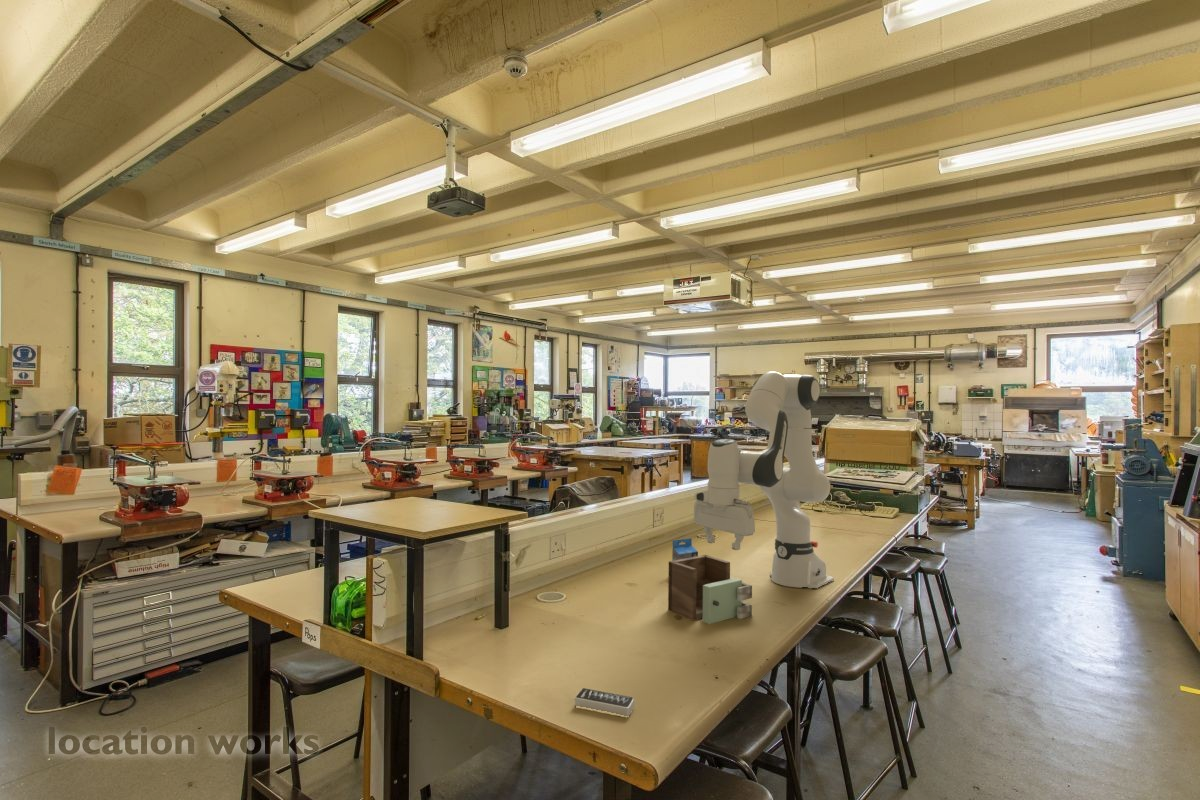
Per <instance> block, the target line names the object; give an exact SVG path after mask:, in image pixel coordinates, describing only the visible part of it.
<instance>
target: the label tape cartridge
mask: <svg viewBox="0 0 1200 800" xmlns="http://www.w3.org/2000/svg"><path fill="white" fill-rule="evenodd" d="M682 543H684V544H682ZM692 544H693V543H692V538H690V537H689V538H683V539H674V540H673V539H672V553H671V554H672V555H671V557H672V559H671V561H675V560H680V559H686V558H691V557H697V556H699V551H698V550H697V549H696V548H695V546H693V545H692Z"/></svg>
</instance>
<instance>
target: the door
mask: <svg viewBox="0 0 1200 800" xmlns="http://www.w3.org/2000/svg"><path fill="white" fill-rule="evenodd" d="M742 583H743V580H742V579H740V578H737V577H733V578H730V579H728V580H724V581H719V582H715V583H710V584H706V585H703V618H702V622H703V623H705V624H707V625H710V624H715V623H718V622H722V621H725V620H726V621H727V620H728V619H732V618H733V619H734V618H737V607H740V606H742V602H743V601H738V600H737V588H738V587H742Z"/></svg>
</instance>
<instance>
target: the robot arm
mask: <svg viewBox="0 0 1200 800" xmlns="http://www.w3.org/2000/svg"><path fill="white" fill-rule="evenodd" d="M820 393H821V390H820V383H819V381H818V379H817V378H816V377H815V376H814V375H810V374H802V375H801V374H788V373H787V374H782V373H780V372H777V371H774V370H773V371H767V372H765V373H763V374H762V375H761V376H760V377H758V378H757V379H756V380H755V381H754V383H753V386H752V389H751V391H750V393H749V395H748V397H747V399H746V402H745V406H744V410H745V411H744V412H745V415H746V417H747V418H748V420H749V421H750V422H751V423H752V424H753V425H754V426H755V427H758V428H760V429H762V430H765V431H768V432H769V437H768V440H767V441H768V442H767V447H766V448H765V449H763V450H746V449H745V450H744V449H742V448H740V447H739V446H738V442H737V440H735V439H732V438H722V439H716V440H714V441H712V442H710V444H709V449H708V453H707V455H708V456H707V473H708V481H707V489H706V490H702V491H698V492H695V493H694V495H693V496H694V497H693V498H694V500H695V502H694V505H693V521H694V523H695V525H697V526H700V527H701V526H702V527H703V531H704V533H705V536H706V542H707V543H708V544H715V543H716V536H714V535H713V532H712V531H713V529H714V530H718V531H721V532H727V533H730V534H734V538H735V541H734V542H732V543H731V549H732V550H735V551H740V550H741V543H742V542H743V539H744V538H745V537H749V536H753V535H754V534H755V532H756V525H755V522H756V521H755V515H754V508H753V506H752V504H751V503H750V502H749V501H747V500H742V499H740V484H745V485H746V484H747V485H754V486H755V485H756V486H759V487H760V489H761V492H763V493H764V494H765V495H766V496H767V498H768V500H769V501H770V503H771V506H772V508H773V511H774V514H775V515H774V516H775V525H776V529H775V531H776V535H775V536H776V538H775V539H774V550H775V552H774V553H773V558H772V567H771V568H772V569H771V572H770V573H769V577H771V578H770V580H771V581H772V582H773V583H775V584H777V585H781V586H785V587H789V588H799V589H800V588H802V587H808V588H807V589H812V588H817V589H819V588H818V587H820V586H822V585H824V584H826V583H828V582H830V581H832V580H835V578H834V577H833V576H831V575H829V574H827V565H826V563H825V561H824V560H823V559H822V558H820V557H819V556H818V555H817V554H816V553H815V552H814V551H815V550H814V548H818V547H819V542H818V541H813V540H811V519H810V517H809V516H808V514H807V513H806V512H804V511H803V510H802V508H801V507H800V506H799V502H802V503H803V502H804V503H809V504H810V503H821V502H824V501H825V500H826V499H827V498H828V496H829V495H830V492H831V482H830V479H829V477H828V476H827V475H826V474H825V473H824V472H823V471H822V470H821V468H820V467H819V466H818V464H817V462H816V460H815V458H814V457H815V456H814V452H813V445H812V443H813V442H812V441H813V440H812V439H813V438H812V432H813V431H812V423H813V422H812V413H811V409H812V407H813V406H814V405H816V403H817V402H818V401H819V399H820V398H819V397H820ZM784 458H786V460H787V462H788V465H789V467H785V466H784ZM832 582H833V581H832ZM830 583H831V582H830ZM828 584H829V583H828ZM826 585H827V584H826ZM824 586H825V585H824ZM822 587H823V586H822ZM820 588H821V587H820Z"/></svg>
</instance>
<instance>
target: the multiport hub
mask: <svg viewBox="0 0 1200 800" xmlns="http://www.w3.org/2000/svg"><path fill="white" fill-rule="evenodd" d="M575 705H576V706H580V707H586V708H591V709H596V710H601V711H607V712H611V713H616V714H620V715H624V716H629V715H630V713H631V711H632V710H633V708H634V709H635V697H633V696H629V695H628V696H627V695H623V694H617V693H612V692H608V691H607V692H606V691H601V690H597V689H592V688H591V689H590V688H585V687H584V688H581V689H580V690H579V692H578V693H577V694H576V695H575V697H574V706H575ZM633 711H634V710H633ZM631 714H632V713H631ZM630 716H631V715H630Z"/></svg>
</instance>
